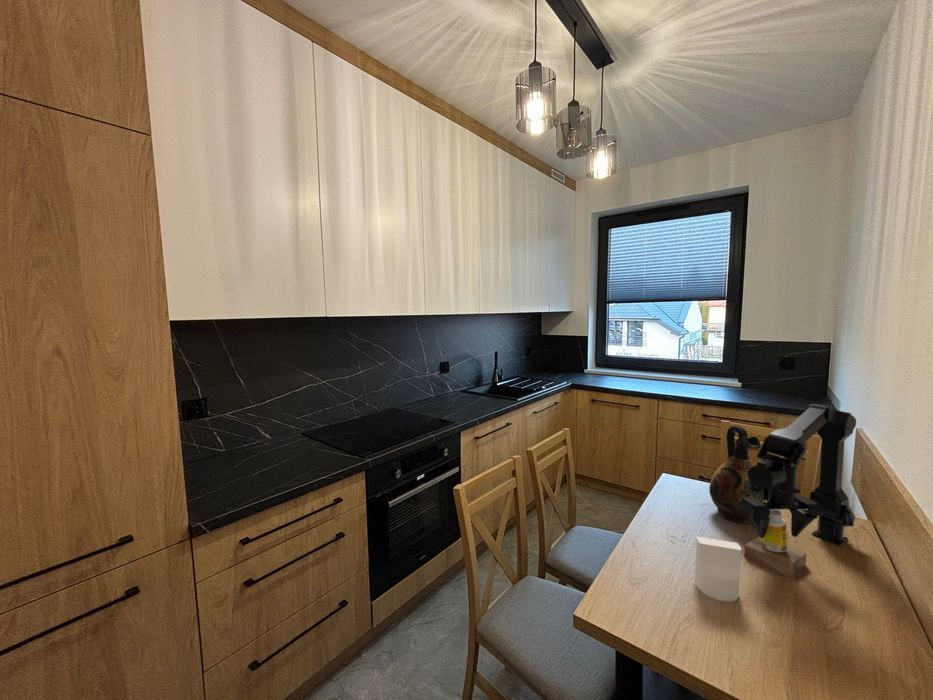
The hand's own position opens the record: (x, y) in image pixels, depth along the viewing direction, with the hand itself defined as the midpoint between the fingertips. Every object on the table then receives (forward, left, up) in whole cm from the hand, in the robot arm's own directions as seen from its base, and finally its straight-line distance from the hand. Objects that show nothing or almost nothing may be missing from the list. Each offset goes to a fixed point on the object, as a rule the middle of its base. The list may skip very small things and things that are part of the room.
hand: (777, 536), depth 101 cm
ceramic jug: (-17, -18, -8) cm, 26 cm away
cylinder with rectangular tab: (+25, -2, -8) cm, 26 cm away
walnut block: (0, 0, -8) cm, 8 cm away
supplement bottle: (0, -1, -4) cm, 4 cm away
